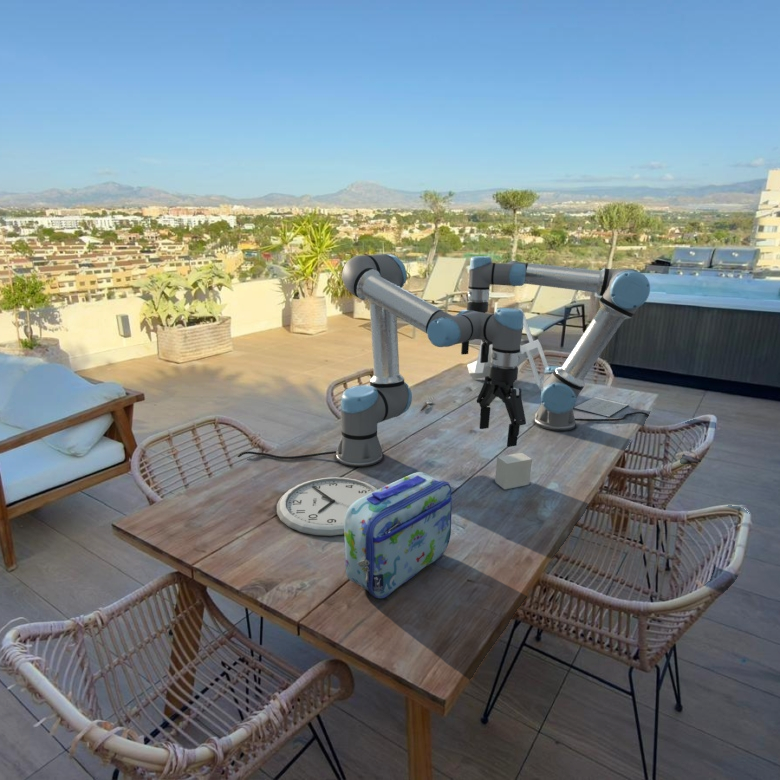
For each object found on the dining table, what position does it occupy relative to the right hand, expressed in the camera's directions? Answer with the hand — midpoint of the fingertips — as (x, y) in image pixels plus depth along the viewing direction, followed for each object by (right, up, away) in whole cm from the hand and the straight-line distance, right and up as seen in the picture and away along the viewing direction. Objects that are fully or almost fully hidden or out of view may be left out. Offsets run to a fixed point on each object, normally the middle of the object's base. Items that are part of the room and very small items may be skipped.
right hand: (474, 358), depth 194 cm
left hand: (0, -25, -44) cm, 51 cm away
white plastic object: (+25, -10, +60) cm, 66 cm away
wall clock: (-47, -43, -52) cm, 82 cm away
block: (+5, -40, -37) cm, 55 cm away
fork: (-16, -19, +29) cm, 38 cm away
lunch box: (-29, -52, -78) cm, 99 cm away
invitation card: (+60, -19, +32) cm, 71 cm away
